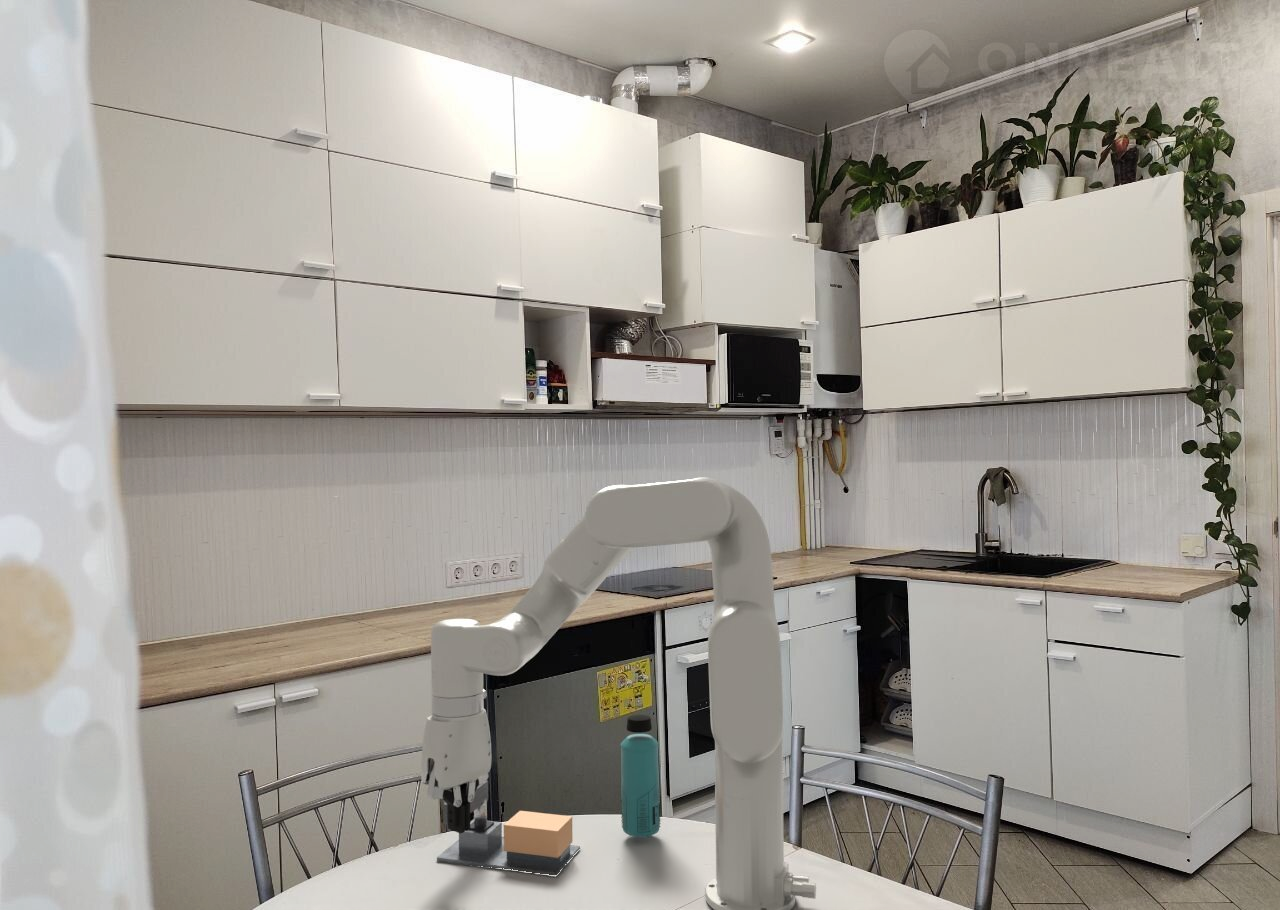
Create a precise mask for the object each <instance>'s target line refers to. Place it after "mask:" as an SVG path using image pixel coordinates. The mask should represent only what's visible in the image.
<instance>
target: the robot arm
mask: <svg viewBox="0 0 1280 910" xmlns="http://www.w3.org/2000/svg"><path fill="white" fill-rule="evenodd" d="M706 541H707V543H708V545H709V548H710V552H711V570H712V571H711V575H712V583H713V585H712V586H713V616H712V621H711V625H710V628H709V633H708V638H707V657H708V658H707V660H708V661H707V663H708V684H709V687H708V688H709V710H710V711H709V712H710V714H709V716H710V729H711V733H712V737H713V739H714V753H715V754H714V761H715V763H714V765H715V766H714V767H715V768H714V770H715V771H714V772H715V773H714V775H715V777H714V778H715V781H714V782H715V783H714V784H715V786H714V789H715V790H714V793H715V795H714V799H715V801H714V803H715V804H714V806H715V807H714V808H715V815H714V817H715V822H714V823H715V877H714V878H713V879H711V880H710V881H709V882H708V883H707V884H706V886H705V888H704V889H705V895H704V896H705V901H706V902H707V904H708V905H709V906H710V907H711V908H712V909H713V910H792V909H793V908H794V906H795V905H796V896H797V897H802V898H806V899H813V900H815V899H816V896H817V884H816V883H814V882H810V876H805V875H793V873H792V872H789V862H787V861H786V862H785V855H784V854H785V853H784V851H785V850H784V846H785V845H784V844H785V843H784V753H783V752H784V749H783V747H784V745H783V740H784V739H783V735H784V734H783V733H784V703H783V702H784V699H783V676H782V675H783V674H782V672H783V671H782V651H781V649H782V648H781V636H780V629H779V624H778V621H777V616H776V608H775V591H774V590H775V588H774V575H773V564H772V563H773V562H772V553H771V552H772V551H771V544H770V537H769V533H768V531H767V528H766V525H765V522H764V520H763V518H762V516H761V514H760V512H759V511H758V509H757V508H756V507H755V505H754V504H753V502H751V500H749V498H747V496H745V495H744V494H743V493H741V492H740V491H738V489H736V488H734V487H732V486H730V485H729V484H727V483H726V482H723V481H720V480H718V479H715V478H712V477H711V478H710V477H695V478H692V479H684V480H683V479H681V480H675V481H665V482H655V483H646V484H645V483H644V484H633V485H630V484H629V485H628V484H616V485H615V484H614V485H610V486H607V487H603V488H602V489H600V490H599V491H597V492H596V493H595V494H594V495H593V496H592V497H591V498H590V500H589V502H588V503H587V506H586V508H585V512H584V514H583V515H582V516H581V517H580V519H579V520H578V521H577V523H575V524H574V525H573V527H572V528H571V529H570V530H569V532H567V533H566V535H565V536H564V537H562V539H561V540H560V541H559V542H558V543H557V545H555V546H554V548H553V549H552V550H551V551H550V552H549V553H548V555H547V556H546V558H545V559H544V563H543V567H542V570H541V572H540V574H539V576H538V578H537V579H536V580H535V582H534V583H533V585H532V586H531V587H530V588H529V590H527V592H526V593H525V594H524V595H523V596H522V598H520V600H519V601H518V602H517V603H516V604H515V605H514V607H513V608H512V609H511V610H510V611H509V612H508V613H507V614H506V615H505V616H503V617H502V618H500V619H498V620H496V621H494V622H492V623H489V624H485V625H484V624H481V623H480V622H479V621H477V620H475V619H471V618H451V619H450V618H449V619H443V620H441V621H437V622H436V623H435V624H433V626H432V628H431V631H430V666H431V667H430V668H431V669H430V671H431V673H430V674H431V678H430V679H431V680H430V681H431V683H430V685H431V688H430V689H431V715H429V716H427V717H426V721H425V725H424V732H423V738H422V746H421V747H422V749H421V763H420V774H421V775H420V779H421V784H424V785H426V786H427V785H428V786H427V792H426V797H427V798H430V799H433V800H442V801H443V804H444V803H447V822H448V825H447V828H448V830H450V831H452V832H456V833H458V834H459V833H463V832H465V831H468V830H470V822H471V813H470V802H472V801H473V799H474V793H475V791H476V789H477V787H478V786H479V785H480V784H481V783H483V782H484V781H488V779H489V772H490V770H491V768H492V742H491V731H490V725H489V724H490V723H489V720H488V714H487V710H486V709H485V708H484V699H486V698H488V697H487V696H488V694H487V691H486V690H485V689H484V674H486V675H490V676H497V677H499V676H501V677H502V676H503V677H504V676H508V675H512V674H514V673H516V672H517V671H518V670H520V669H521V668H522V667H523V666H525V664H526V663H528V662H529V661H530V660H531V659H533V658H534V657H535V656H536V655H537V654H538V653H539V652H540V650H542V649H543V647H544V646H545V645H546V644H547V643H548V642H549V640H550V639H552V637H553V636H555V634H556V632H558V630H559V629H560V628H561V627H562V626H563V625H564V624H565V622H566V621H567V620H568V619H569V618H570V617H571V616H572V615H573V613H574V612H575V611H576V610H577V609H578V608H579V607H580V606H582V604H584V603H585V602H587V600H588V599H589V598H590V597H591V596H592V594H593V593H594V592H595V591H596V590H597V589H598V588H599V586H601V585H602V583H603V582H604V581H605V580H606V578H607V577H608V576H609V575H610V574H611V573H612V571H614V570H615V569H616V567H617V566H618V565H619V564H620V562H622V560H623V559H625V557H626V556H627V555H628V554H629V553H630V552H631V551H632V550H633V548H634V549H635V548H649V547H660V546H669V545H682V544H683V545H684V544H692V543H693V544H695V543H701V542H706Z"/></svg>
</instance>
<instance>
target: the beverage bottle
mask: <svg viewBox="0 0 1280 910" xmlns="http://www.w3.org/2000/svg"><path fill="white" fill-rule="evenodd" d="M626 720H627V721H626V722H627V723H626V730H627V732H631V733H632V734H629V735H627V736H626V737H625V738H624V739H623V740H622V742H621V743H620V748H621V749H620V756H621V757H620V758H621V759H620V760H621V769H620V770H621V771H620V772H621V780H620V781H621V782H620V783H621V784H620V796H621V799H620V802H621V808H620V809H621V814H620V815H621V816H620V820H621V821H620V822H621V828H622V830H623V832H624V834H626V835H629V836H632V837H636V838H637V837H640V838H641V837H642V838H644V837H650V836H653V835H656V834H657V833H658V832H659V831H660V827H661V822H662V818H661V803H660V801H661V798H660V774H661V773H660V765H659V742H658V741H657V739H656V738H654V737H653V736H652V735H650V734H646V733H648V732H650V731H652V728H653V727H652V726H653V725H652V718H651V716H650V715H647V714H632V715H628V717H627V719H626ZM633 733H634V734H633Z"/></svg>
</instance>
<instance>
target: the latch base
mask: <svg viewBox="0 0 1280 910" xmlns="http://www.w3.org/2000/svg"><path fill="white" fill-rule="evenodd" d="M502 824H503V823H502V822H501V821H495V820H494V821H493V820H487V824H486V825H483V826H476V825H474V818H473V819H472V820H470V830H468V831H465V832H463V833H458V839H457V840H456V841H455V842H454V843H453V844H451V845H450V846H449V847H448V848H447V849H445V850H444V851H443V852H442V853H441V854H440V855H438V856H436V862H439V863H440V862H441V863H448V864H453V865H454V864H455V865H461V864H463V866H468V865H472V866H471V867H476V866H480V867H479V868H483V867H490V868H489V869H491V867H492V868H502V869H503V868H504V869H511V870H512V869H513V870H518V871H526V872H532V873H540V874H549V875H557V874H558V873H559V872H560V870H561V869H562V868H563V867H564V866H565V864H567V862H568V861H569V860H570V859H571V858H572V857H573V855H574V854H575V853H576V852H577V851H578V850H579V849H580V850H581V845H575V844H574V845H573V844H572V845H571V844H570V845H569V846H568V847H567V849H566V850H565V851H564V852H563V853H562V854H561V855H560V856H559V857H558V858H556V857H548V856H540V855H532V854H524V853H517V852H509V851H504V836H502V835H503V834H502V833H503V830H502V829H503V827H502V826H503V825H502ZM573 858H574V857H573ZM567 865H568V864H567ZM481 866H483V867H481ZM560 873H561V872H560ZM560 873H559V874H560Z"/></svg>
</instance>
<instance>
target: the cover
mask: <svg viewBox="0 0 1280 910" xmlns="http://www.w3.org/2000/svg"><path fill="white" fill-rule="evenodd" d="M503 837H504V851H509V852H517V853H524V854H532V855H540V856H548V857H556V858H558V857H559V856H560V855H561V854H562V853H563V852H564V851H565V850H566V849H567V847H568V846H569V845H571V844H573V815H571V816H570V815H564V814H553V813H543V812H537V811H527V810H519V811H518V812H516V813H515V814H514V815H513V816H512V817H510V819H509V820H507V822H505V823H504V824H503Z"/></svg>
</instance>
